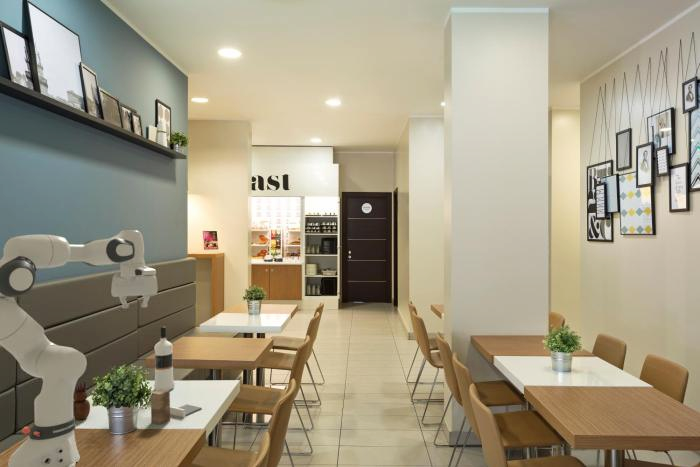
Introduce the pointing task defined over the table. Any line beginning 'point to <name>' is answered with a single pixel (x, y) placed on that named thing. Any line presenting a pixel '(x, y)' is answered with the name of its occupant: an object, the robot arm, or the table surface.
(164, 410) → the walnut block
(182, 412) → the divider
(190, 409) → the coaster
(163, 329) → the vodka
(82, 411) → the wooden figurine
